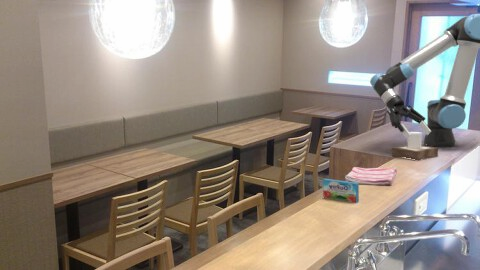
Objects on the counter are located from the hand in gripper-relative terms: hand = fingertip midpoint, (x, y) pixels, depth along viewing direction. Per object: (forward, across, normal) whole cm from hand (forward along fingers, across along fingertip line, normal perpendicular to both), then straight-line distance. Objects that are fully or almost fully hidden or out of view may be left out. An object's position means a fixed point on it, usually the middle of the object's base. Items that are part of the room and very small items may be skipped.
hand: (418, 135), depth 208 cm
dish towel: (+17, +43, +2) cm, 47 cm away
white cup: (+3, 0, -6) cm, 7 cm away
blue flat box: (+28, +72, +13) cm, 78 cm away
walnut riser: (+6, 0, -9) cm, 10 cm away
